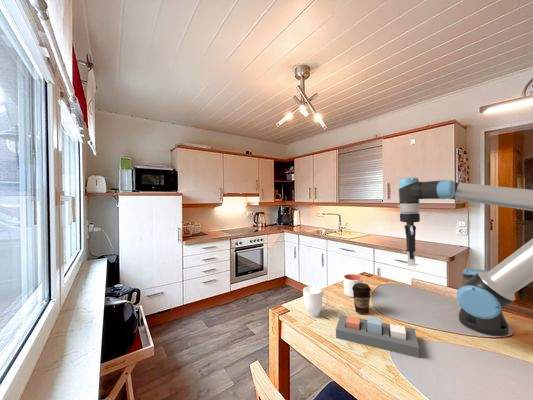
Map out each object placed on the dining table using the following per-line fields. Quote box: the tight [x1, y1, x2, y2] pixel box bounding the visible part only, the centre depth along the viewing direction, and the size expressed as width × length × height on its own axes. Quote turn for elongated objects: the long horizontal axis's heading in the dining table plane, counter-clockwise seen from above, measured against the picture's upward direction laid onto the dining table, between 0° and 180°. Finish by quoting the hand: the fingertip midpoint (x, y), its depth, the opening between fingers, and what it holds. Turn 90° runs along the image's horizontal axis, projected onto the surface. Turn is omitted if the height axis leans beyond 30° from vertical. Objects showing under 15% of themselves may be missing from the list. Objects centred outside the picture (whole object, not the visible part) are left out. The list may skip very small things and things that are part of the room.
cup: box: [343, 273, 363, 299], centre depth 128 cm, size 10×10×10 cm
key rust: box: [346, 315, 361, 330], centre depth 93 cm, size 5×5×5 cm
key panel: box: [335, 314, 420, 359], centre depth 90 cm, size 28×12×4 cm, turn 63°
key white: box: [389, 323, 406, 340], centre depth 86 cm, size 5×5×5 cm
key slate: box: [366, 315, 383, 335], centre depth 90 cm, size 5×5×5 cm
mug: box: [302, 285, 329, 318], centre depth 109 cm, size 12×9×12 cm
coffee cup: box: [352, 282, 372, 315], centre depth 109 cm, size 9×8×13 cm
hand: (411, 265), depth 101 cm, fingers closed
